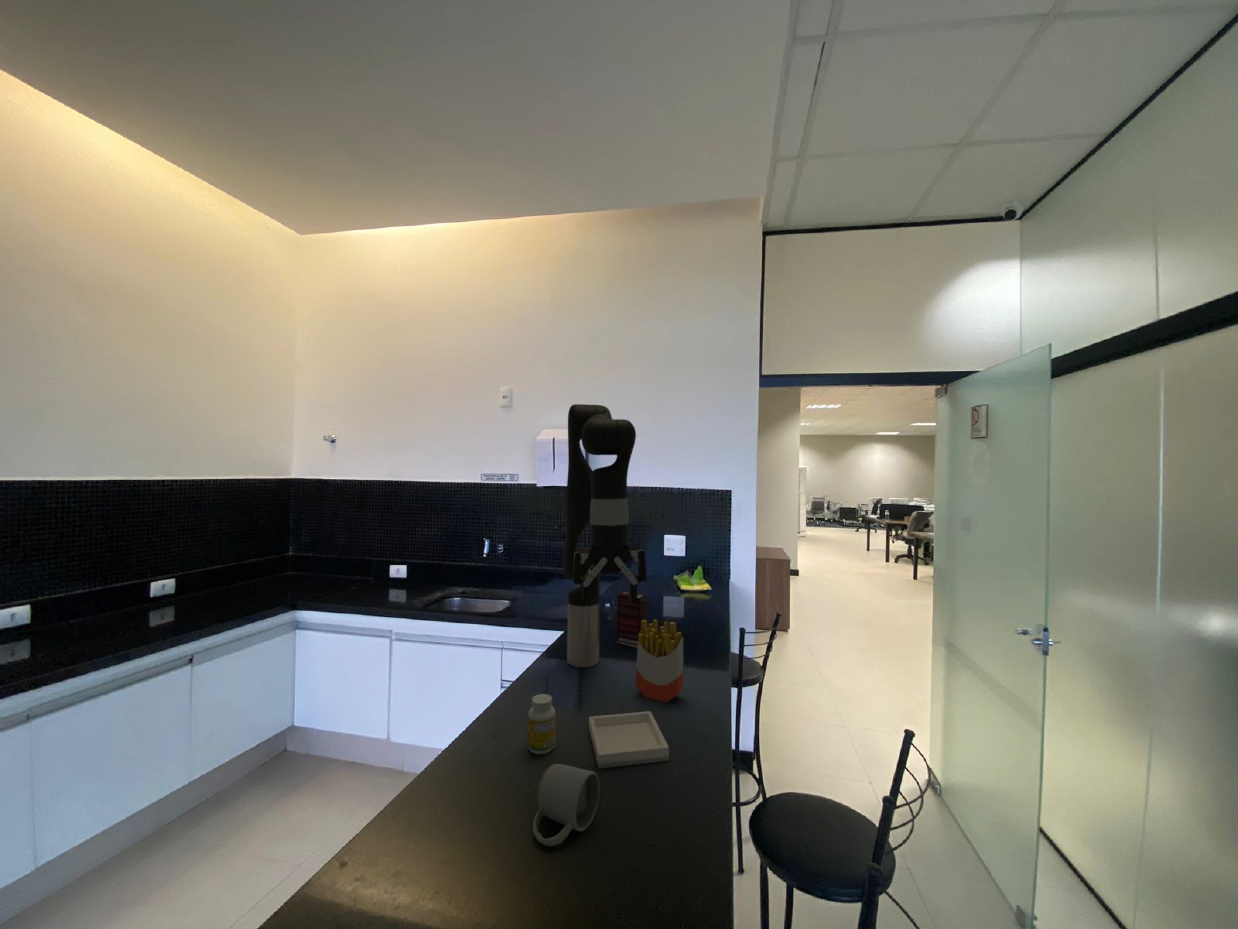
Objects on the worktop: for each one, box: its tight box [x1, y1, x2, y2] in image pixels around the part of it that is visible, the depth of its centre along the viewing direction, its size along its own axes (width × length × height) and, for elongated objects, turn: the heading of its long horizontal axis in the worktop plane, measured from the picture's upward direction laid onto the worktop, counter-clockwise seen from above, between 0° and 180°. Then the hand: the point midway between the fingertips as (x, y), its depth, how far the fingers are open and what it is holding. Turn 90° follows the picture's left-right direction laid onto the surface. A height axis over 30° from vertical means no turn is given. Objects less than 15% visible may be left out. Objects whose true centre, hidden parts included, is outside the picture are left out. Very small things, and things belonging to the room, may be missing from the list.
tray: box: [588, 710, 670, 769], centre depth 94 cm, size 14×14×2 cm
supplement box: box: [616, 591, 648, 649], centre depth 148 cm, size 9×5×16 cm, turn 58°
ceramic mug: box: [532, 763, 601, 846], centre depth 72 cm, size 11×8×8 cm
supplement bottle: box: [527, 693, 556, 755], centre depth 93 cm, size 5×5×10 cm
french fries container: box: [635, 619, 684, 703], centre depth 114 cm, size 5×11×18 cm, turn 66°
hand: (609, 603), depth 91 cm, fingers open, 8 cm apart
